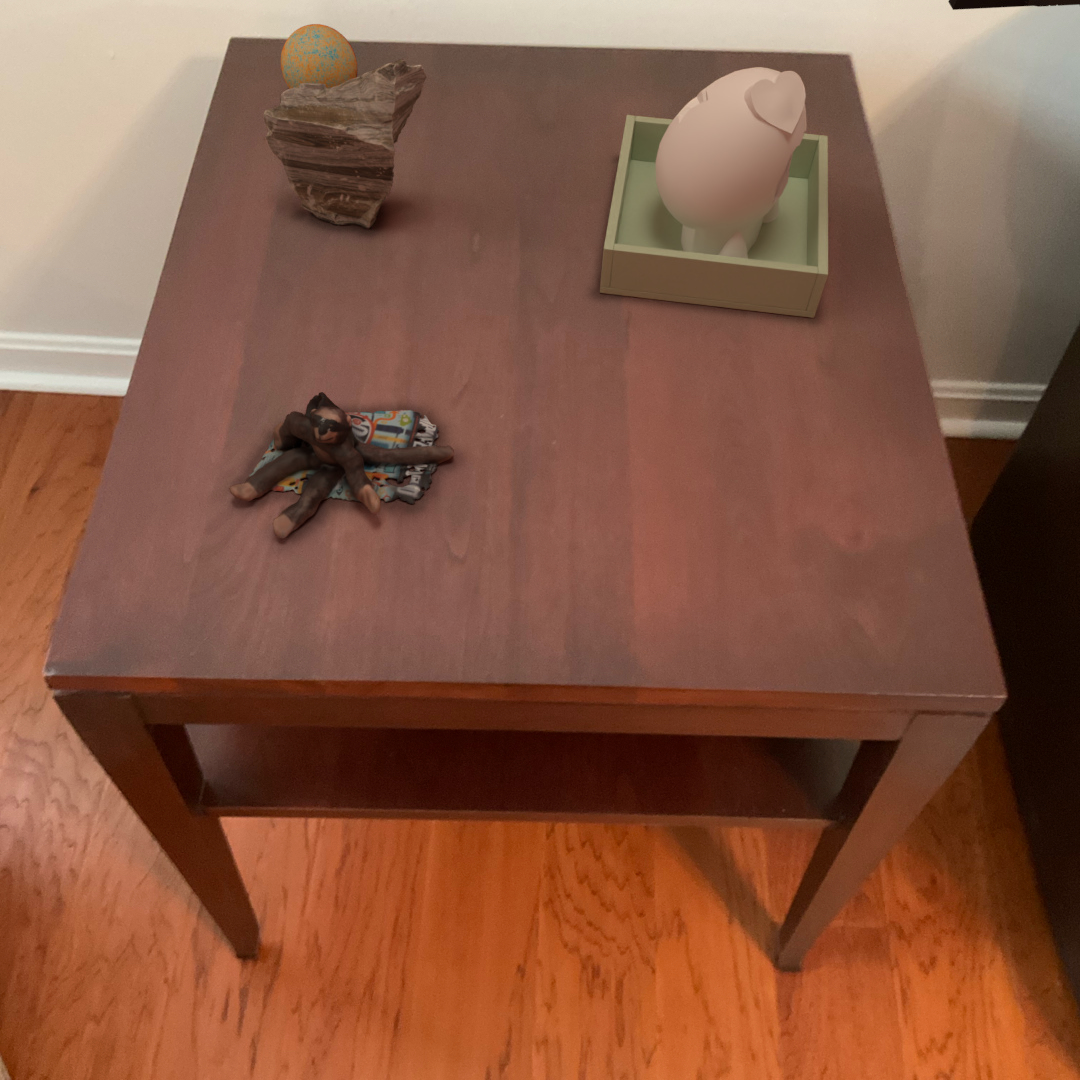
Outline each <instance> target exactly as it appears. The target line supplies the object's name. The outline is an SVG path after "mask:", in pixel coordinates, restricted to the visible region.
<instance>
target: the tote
mask: <svg viewBox="0 0 1080 1080" xmlns="http://www.w3.org/2000/svg"><path fill="white" fill-rule="evenodd" d="M625 116H626V117H625V122H624V128H623V135H622V140H621V145H620V152H619V157H618V162H617V169H616V173H615V179H614V185H613V190H612V191H613V192H612V198H611V203H610V209H609V214H608V220H607V224H606V225H607V226H606V232H605V237H604V242H603V250H602V261H601V273H600V286H599V293H600V294H607V295H615V296H622V297H623V296H624V297H632V298H633V297H634V298H640V299H650V300H657V301H664V302H665V301H666V302H674V303H682V304H683V303H684V304H692V305H700V306H709V307H716V308H725V309H734V310H742V311H751V312H759V313H768V314H777V315H785V316H794V317H802V318H811V319H814V318H815V316H816V313H817V310H818V307H819V305H820V302H821V301H820V300H821V299H822V295H823V292H824V289H825V286H826V282H827V280H828V276H829V136H828V135H823V134H813V133H806V132H804V136H803V139H802V141H801V143H800V145H799V146H797V147H796V149H795V150H794V152H793V156H792V160H791V164H790V168H789V178H788V183H787V185H786V187H785V189H784V191H783V194H782V195H781V196H780V198H779V199H778V201H779V216H778V217H777V219H775V220H774V221H772V222H769V223H762V226H761V230H760V232H759V235H758V237H757V240H756V242H755V243H754V245H753V246H752V247H751V249H750V250H749V251H748V252H747V254H748V259H747V258H738V257H729V256H721V255H712V254H703V253H694V252H686V251H683V248H682V244H681V235H682V227H683V224H681V223H680V222H679V221H678V220H676V219H675V218H674V217H673V216H672V215H671V213H670V212H669V211H668V210H667V208H666V206H665V205H664V203H663V201H662V198H661V196H660V193H659V191H658V187H657V183H656V157H657V152H658V149H659V145H660V142H661V140H662V138H663V136H664V134H665V132H666V130H667V128H668V126H669V125H670V123H671V122H672V121H673V120H674V119H670V118H662V117H661V118H660V117H652V116H642V115H632V114H626V115H625Z"/></svg>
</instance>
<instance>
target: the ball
mask: <svg viewBox="0 0 1080 1080" xmlns="http://www.w3.org/2000/svg"><path fill="white" fill-rule="evenodd" d="M280 70H281V74H282V77H283V80H284V83H285V85H286V86H287V88H288V89H291V88H295V87H299V85H300V84H301V83H314V84H318V83H321V84H326V88H327V89H330V88H332V87H335V86H338V85H341V84H343V83H344V82H346V81H348V80H350V79H354V78H357V77H358V61H357V56H356V53H355V50H354V49H353V47H352V45H351V43H350V42H349V40H348V39H347V38H346V37H345V36H344V35H343V34H342V33H341V32H339V31H338V30H336V28H333V27H331V26H329V25H325V24H321V23H311V24H310V23H309V24H307V25H304V26H300V27H299V28H297V29H296V30H294V31H293V32H292V33H291V34H290V35H289V36H288V37H287V38H286V40H285V43H284V44H283V47H282V49H281V54H280Z"/></svg>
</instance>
